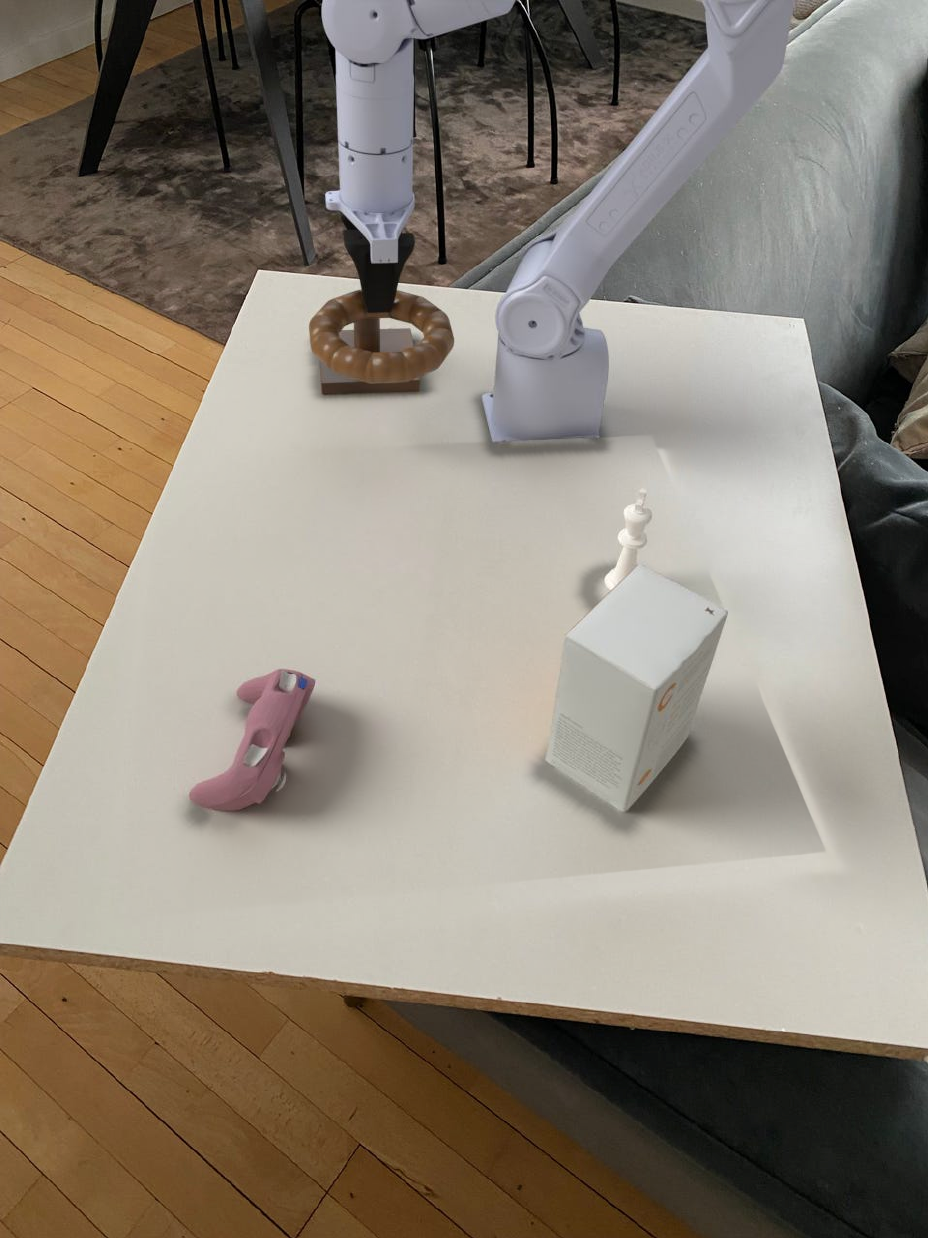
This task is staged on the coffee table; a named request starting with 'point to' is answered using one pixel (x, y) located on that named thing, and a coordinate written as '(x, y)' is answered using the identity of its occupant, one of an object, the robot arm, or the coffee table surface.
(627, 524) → the chess piece
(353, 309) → the segmented brown ring
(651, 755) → the small box
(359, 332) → the peg stand
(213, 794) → the video game controller
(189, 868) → the coffee table surface
